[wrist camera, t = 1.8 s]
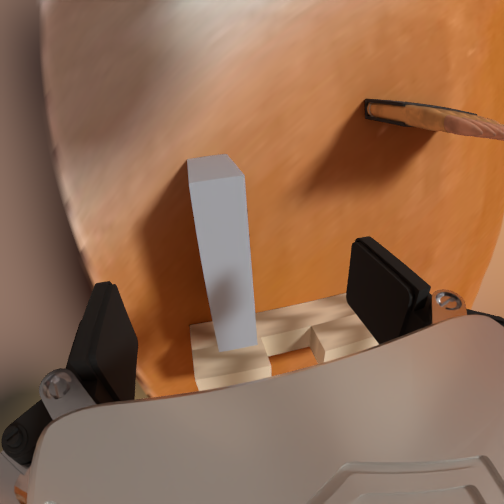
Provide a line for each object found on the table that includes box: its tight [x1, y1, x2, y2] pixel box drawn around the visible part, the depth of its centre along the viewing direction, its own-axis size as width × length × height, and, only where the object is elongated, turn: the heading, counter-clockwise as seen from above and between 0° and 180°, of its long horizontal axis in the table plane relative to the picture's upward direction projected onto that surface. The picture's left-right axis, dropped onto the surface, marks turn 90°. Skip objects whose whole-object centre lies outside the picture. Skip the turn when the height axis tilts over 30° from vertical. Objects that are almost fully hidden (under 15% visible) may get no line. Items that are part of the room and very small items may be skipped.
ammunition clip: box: [365, 99, 504, 141], centre depth 17 cm, size 11×2×12 cm, turn 95°
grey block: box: [187, 154, 258, 352], centre depth 21 cm, size 13×3×7 cm, turn 4°
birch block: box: [190, 293, 379, 391], centre depth 28 cm, size 18×3×7 cm, turn 94°
